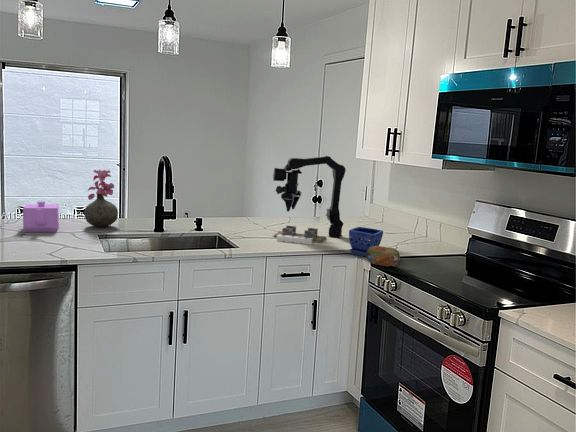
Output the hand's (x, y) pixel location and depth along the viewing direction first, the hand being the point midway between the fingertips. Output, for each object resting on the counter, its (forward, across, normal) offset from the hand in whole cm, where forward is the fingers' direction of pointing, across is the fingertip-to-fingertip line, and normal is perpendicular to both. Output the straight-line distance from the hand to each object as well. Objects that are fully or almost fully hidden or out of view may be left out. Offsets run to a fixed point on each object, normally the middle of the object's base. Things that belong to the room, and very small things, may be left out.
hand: (290, 210), depth 291 cm
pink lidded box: (+14, +58, -112) cm, 127 cm away
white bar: (+14, +15, +7) cm, 22 cm away
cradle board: (+14, +3, +7) cm, 16 cm away
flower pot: (+14, +23, +45) cm, 52 cm away
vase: (+14, +37, -93) cm, 101 cm away
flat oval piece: (+14, +40, +55) cm, 70 cm away
